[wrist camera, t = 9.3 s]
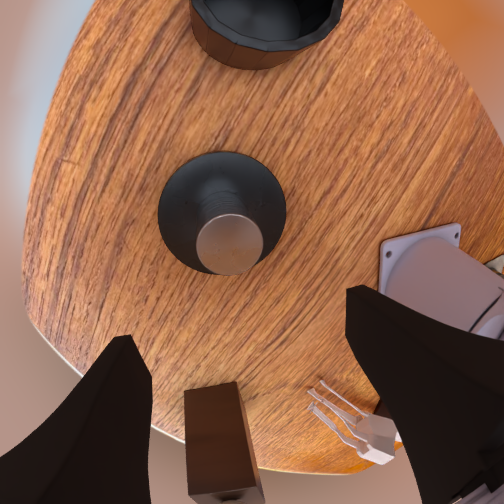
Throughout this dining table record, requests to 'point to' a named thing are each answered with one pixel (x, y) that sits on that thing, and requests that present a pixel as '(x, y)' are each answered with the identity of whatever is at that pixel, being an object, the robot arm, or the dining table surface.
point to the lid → (221, 213)
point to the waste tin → (261, 29)
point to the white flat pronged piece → (361, 429)
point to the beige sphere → (231, 502)
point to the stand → (219, 447)
